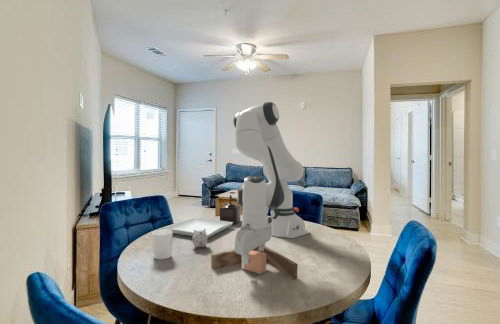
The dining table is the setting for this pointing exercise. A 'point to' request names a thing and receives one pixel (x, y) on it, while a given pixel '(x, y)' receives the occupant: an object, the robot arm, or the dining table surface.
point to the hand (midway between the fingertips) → (253, 259)
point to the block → (255, 262)
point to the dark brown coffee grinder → (230, 212)
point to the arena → (271, 258)
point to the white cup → (162, 244)
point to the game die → (200, 238)
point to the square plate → (199, 226)
